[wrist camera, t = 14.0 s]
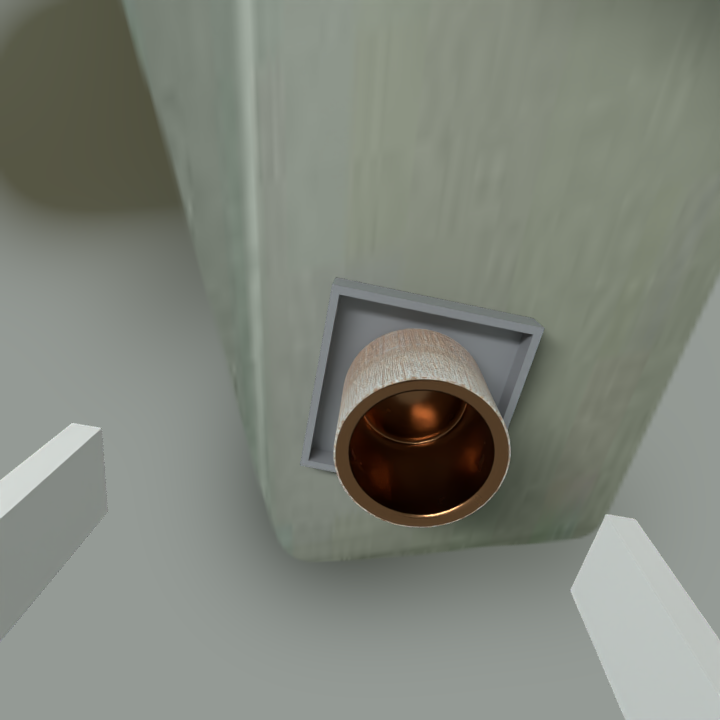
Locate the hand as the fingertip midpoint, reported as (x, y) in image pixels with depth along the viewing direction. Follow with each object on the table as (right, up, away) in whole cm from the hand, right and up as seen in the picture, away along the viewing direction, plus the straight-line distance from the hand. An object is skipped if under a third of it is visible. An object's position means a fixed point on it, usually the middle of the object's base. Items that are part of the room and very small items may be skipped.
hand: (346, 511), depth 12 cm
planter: (+4, +2, +25) cm, 25 cm away
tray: (+4, +2, +25) cm, 25 cm away
